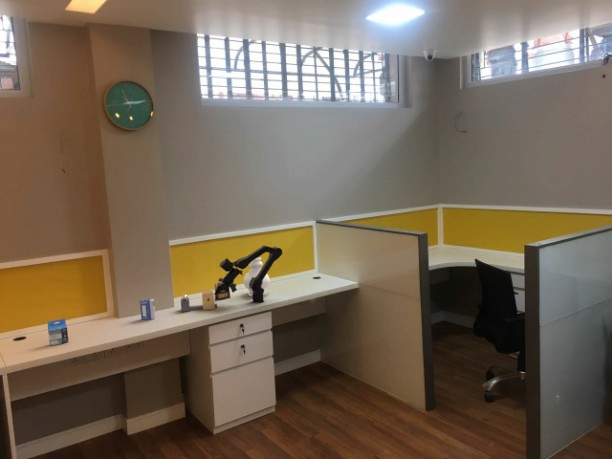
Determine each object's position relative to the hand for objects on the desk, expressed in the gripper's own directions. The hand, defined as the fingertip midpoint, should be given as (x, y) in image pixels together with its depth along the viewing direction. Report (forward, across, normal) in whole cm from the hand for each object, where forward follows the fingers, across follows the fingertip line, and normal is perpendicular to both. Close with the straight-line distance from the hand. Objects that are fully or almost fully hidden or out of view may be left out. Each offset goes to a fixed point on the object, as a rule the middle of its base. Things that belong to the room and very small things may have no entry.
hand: (214, 294), depth 336 cm
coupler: (+13, 0, +1) cm, 13 cm away
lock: (+9, 0, -3) cm, 9 cm away
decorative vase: (-15, +22, -27) cm, 38 cm away
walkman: (+35, -10, +22) cm, 42 cm away
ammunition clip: (+2, +19, -10) cm, 22 cm away
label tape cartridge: (+66, -38, +53) cm, 93 cm away
